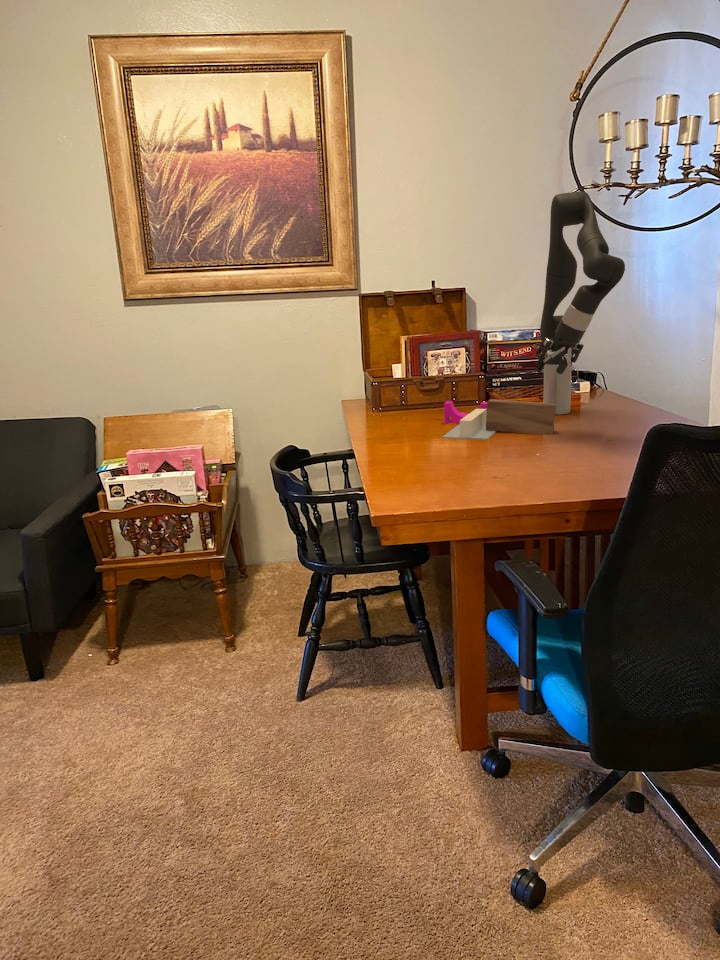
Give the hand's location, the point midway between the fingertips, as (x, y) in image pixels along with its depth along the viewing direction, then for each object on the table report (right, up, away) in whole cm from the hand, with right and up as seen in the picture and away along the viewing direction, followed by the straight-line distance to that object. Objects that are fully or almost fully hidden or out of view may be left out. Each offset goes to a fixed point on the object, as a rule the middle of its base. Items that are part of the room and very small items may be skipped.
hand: (548, 372), depth 203 cm
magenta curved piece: (-19, -13, +30) cm, 37 cm away
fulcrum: (-20, -17, +14) cm, 29 cm away
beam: (-6, -17, +10) cm, 20 cm away
